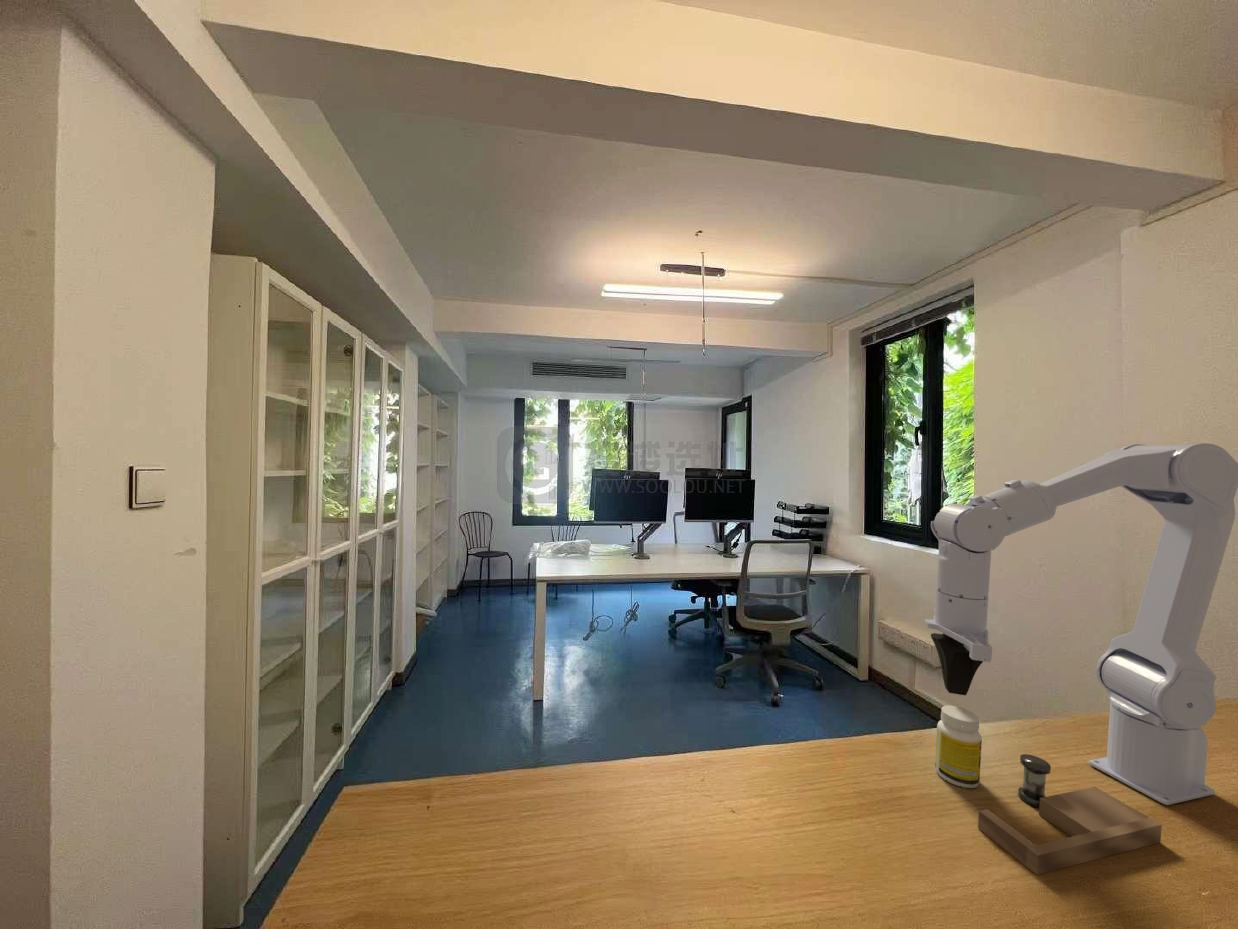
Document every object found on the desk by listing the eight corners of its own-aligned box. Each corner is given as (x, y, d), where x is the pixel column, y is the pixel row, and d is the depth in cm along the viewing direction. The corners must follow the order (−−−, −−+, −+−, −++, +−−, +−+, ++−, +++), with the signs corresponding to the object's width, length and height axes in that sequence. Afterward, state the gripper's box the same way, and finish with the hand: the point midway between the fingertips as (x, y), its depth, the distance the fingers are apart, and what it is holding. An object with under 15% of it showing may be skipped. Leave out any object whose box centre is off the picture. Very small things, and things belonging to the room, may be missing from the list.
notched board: (1093, 803, 58) (1094, 786, 58) (1160, 842, 52) (1161, 824, 52) (977, 828, 53) (978, 811, 53) (1036, 875, 48) (1037, 855, 48)
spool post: (1029, 790, 60) (1031, 753, 60) (1054, 806, 57) (1056, 767, 57) (1012, 793, 59) (1014, 755, 59) (1037, 810, 56) (1039, 770, 56)
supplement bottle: (987, 792, 59) (991, 726, 59) (945, 786, 60) (948, 720, 60) (967, 767, 64) (970, 706, 64) (928, 762, 65) (931, 701, 65)
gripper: (912, 576, 73) (907, 664, 73) (946, 605, 59) (940, 713, 59) (966, 582, 71) (961, 672, 71) (1015, 613, 57) (1007, 725, 57)
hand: (955, 692), depth 65 cm, fingers closed
